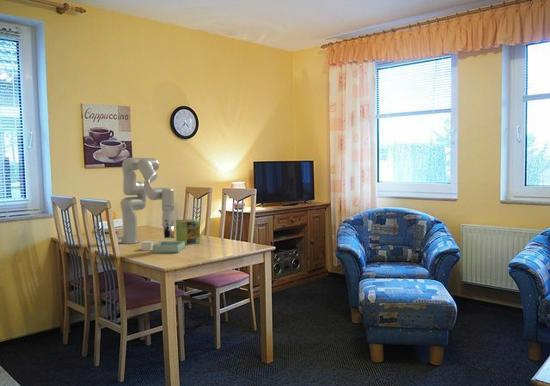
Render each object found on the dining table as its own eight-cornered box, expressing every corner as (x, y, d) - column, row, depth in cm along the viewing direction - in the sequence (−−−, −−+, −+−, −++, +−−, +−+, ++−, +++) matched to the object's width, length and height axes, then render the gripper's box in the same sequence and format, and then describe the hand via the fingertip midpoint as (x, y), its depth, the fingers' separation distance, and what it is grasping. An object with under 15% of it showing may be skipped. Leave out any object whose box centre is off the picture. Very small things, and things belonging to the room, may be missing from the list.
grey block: (141, 250, 299) (141, 242, 299) (144, 248, 305) (144, 241, 305) (150, 250, 299) (150, 242, 299) (153, 248, 305) (153, 240, 305)
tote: (152, 252, 290) (152, 245, 290) (160, 248, 306) (160, 241, 306) (178, 253, 289) (178, 245, 288) (184, 248, 305) (184, 241, 304)
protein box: (186, 245, 316) (186, 222, 314) (176, 242, 327) (175, 220, 326) (200, 243, 322) (200, 220, 321) (189, 240, 334) (188, 218, 333)
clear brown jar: (162, 238, 294) (162, 227, 293) (165, 236, 300) (165, 225, 300) (172, 238, 293) (172, 227, 293) (175, 236, 300) (175, 225, 299)
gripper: (166, 206, 304) (167, 234, 306) (157, 209, 287) (158, 238, 288) (177, 206, 304) (178, 234, 305) (169, 209, 286) (170, 238, 288)
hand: (168, 236), depth 297 cm, fingers closed on clear brown jar, 6 cm apart
